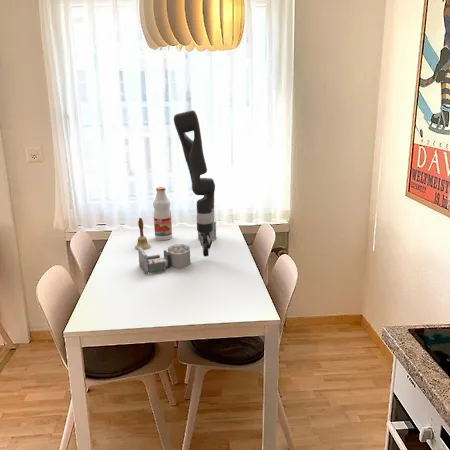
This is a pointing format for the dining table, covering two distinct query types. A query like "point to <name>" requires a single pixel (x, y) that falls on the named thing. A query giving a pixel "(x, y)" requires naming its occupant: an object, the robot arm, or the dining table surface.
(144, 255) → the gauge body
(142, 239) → the hand bell
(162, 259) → the grey boxy piece
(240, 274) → the dining table surface
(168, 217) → the fruit juice
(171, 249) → the paw print stamp
